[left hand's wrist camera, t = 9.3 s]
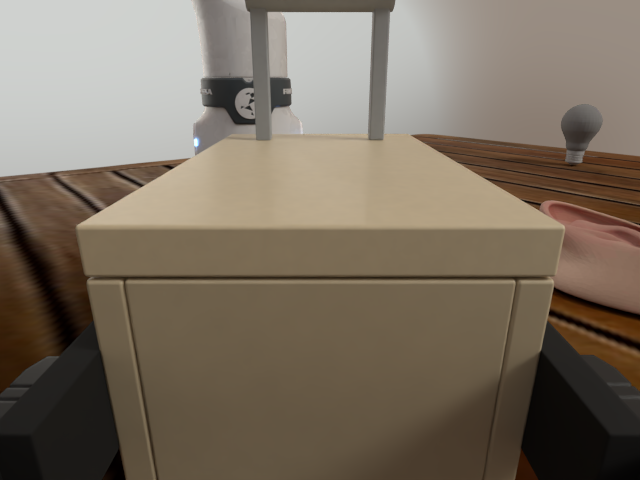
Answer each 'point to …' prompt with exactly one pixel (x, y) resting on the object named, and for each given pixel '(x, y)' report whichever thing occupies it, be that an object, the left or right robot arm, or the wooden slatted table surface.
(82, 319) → the wooden slatted table surface
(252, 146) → the lid
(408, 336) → the chest
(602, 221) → the anatomical model
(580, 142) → the light bulb
